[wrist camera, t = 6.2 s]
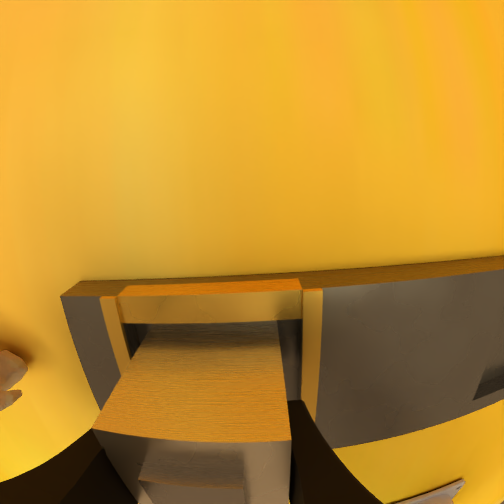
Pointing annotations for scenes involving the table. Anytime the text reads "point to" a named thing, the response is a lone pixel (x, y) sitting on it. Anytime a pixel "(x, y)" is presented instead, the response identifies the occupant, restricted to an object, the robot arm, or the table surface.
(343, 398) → the grey slotted panel
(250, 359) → the wood-topped square block
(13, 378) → the arrowhead
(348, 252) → the table surface
